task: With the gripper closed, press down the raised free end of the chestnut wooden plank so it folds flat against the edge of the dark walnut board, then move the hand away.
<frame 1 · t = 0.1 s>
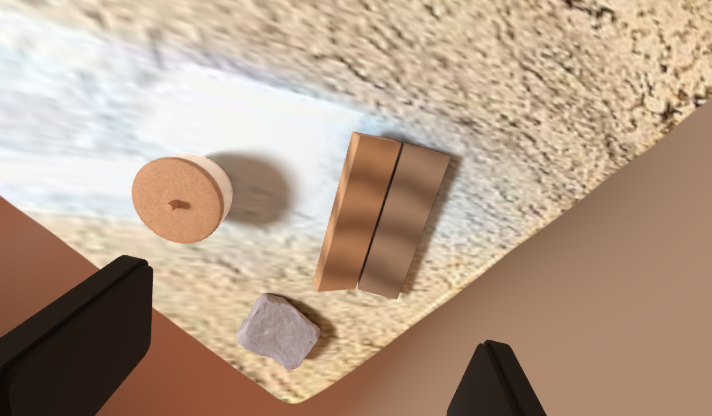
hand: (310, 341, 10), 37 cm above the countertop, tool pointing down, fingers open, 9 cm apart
stone block: (284, 321, 55), on the countertop
chestnut plank: (354, 218, 45), point 3 cm above the countertop, hinge at 30.0°
lidded jar: (206, 184, 47), on the countertop
walnut board: (399, 223, 48), on the countertop
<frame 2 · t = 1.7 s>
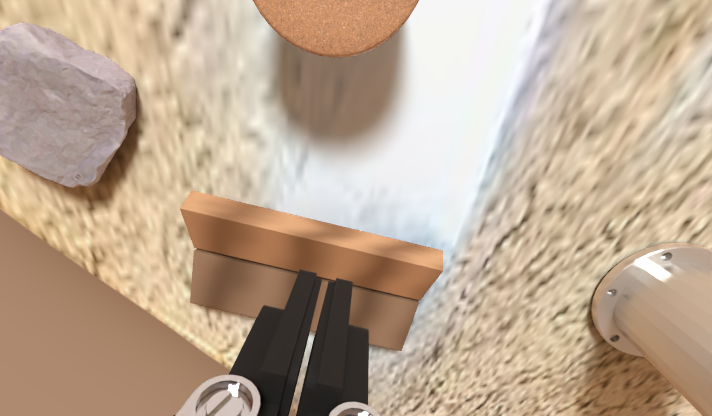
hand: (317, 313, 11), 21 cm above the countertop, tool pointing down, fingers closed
stone block: (85, 114, 31), on the countertop
chestnut plank: (313, 249, 30), point 3 cm above the countertop, hinge at 30.0°
walnut board: (305, 291, 35), on the countertop
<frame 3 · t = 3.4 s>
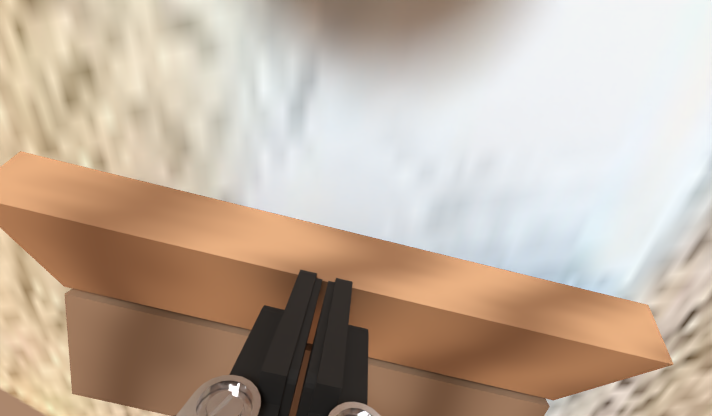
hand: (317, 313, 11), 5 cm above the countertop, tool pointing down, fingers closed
chestnut plank: (327, 294, 13), point 3 cm above the countertop, hinge at 29.5°, touching gripper
walnut board: (308, 366, 18), on the countertop
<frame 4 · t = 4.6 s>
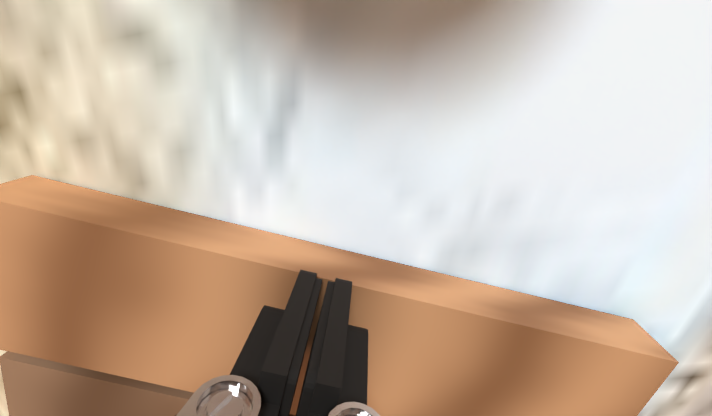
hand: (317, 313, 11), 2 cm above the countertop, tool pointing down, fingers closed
chestnut plank: (320, 334, 12), point 1 cm above the countertop, hinge at 0.9°, touching gripper
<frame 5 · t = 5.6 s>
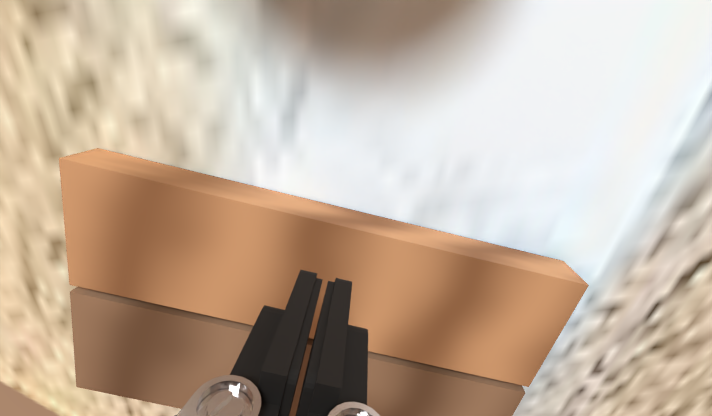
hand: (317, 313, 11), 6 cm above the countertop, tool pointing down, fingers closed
chestnut plank: (322, 272, 16), point 1 cm above the countertop, hinge at 0.8°
walnut board: (301, 359, 19), on the countertop
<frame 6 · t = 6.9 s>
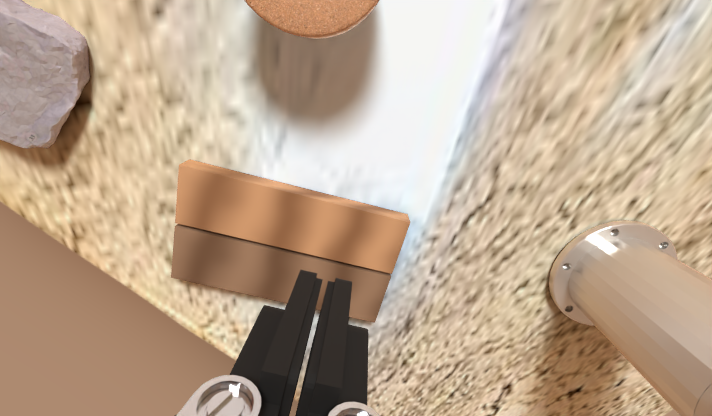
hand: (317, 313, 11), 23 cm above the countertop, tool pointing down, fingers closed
stone block: (38, 76, 30), on the countertop
chestnut plank: (293, 218, 34), point 1 cm above the countertop, hinge at 0.8°
walnut board: (284, 267, 37), on the countertop
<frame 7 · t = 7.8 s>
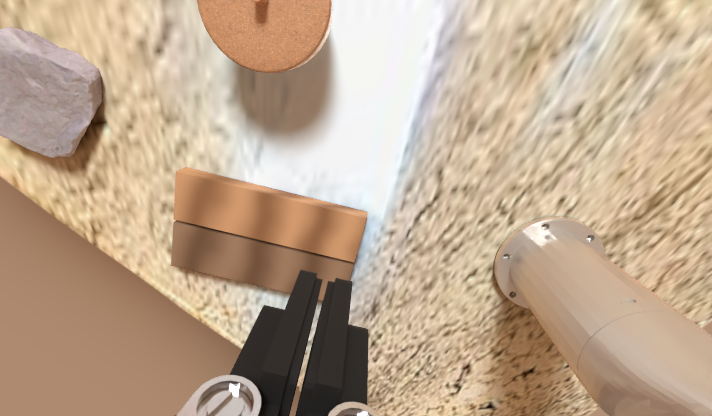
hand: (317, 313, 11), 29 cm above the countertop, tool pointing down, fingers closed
stone block: (62, 100, 38), on the countertop
chestnut plank: (271, 215, 40), point 1 cm above the countertop, hinge at 0.8°
lidded jar: (286, 17, 34), on the countertop
walnut board: (266, 257, 43), on the countertop
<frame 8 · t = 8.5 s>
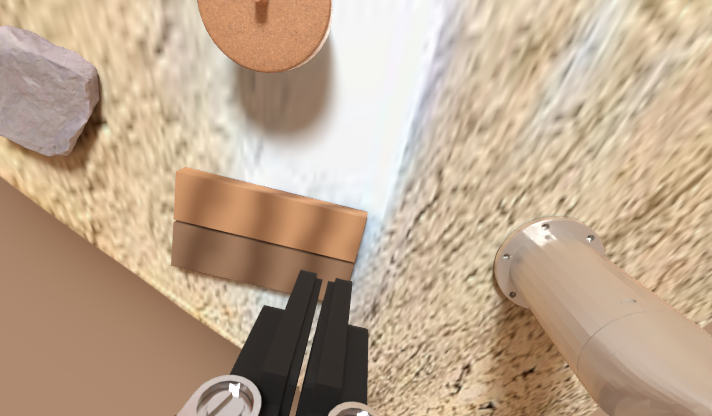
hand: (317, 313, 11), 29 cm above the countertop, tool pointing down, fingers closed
stone block: (60, 98, 38), on the countertop
chestnut plank: (271, 215, 40), point 1 cm above the countertop, hinge at 0.8°
lidded jar: (286, 17, 34), on the countertop
walnut board: (266, 257, 43), on the countertop
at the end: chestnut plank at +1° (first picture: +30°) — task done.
